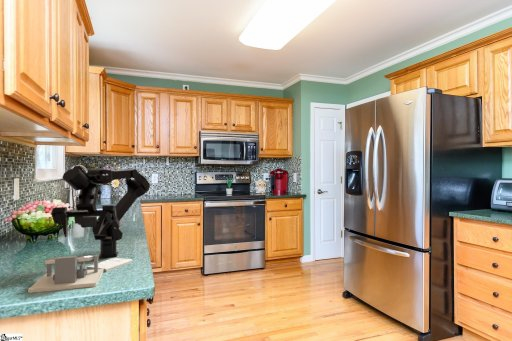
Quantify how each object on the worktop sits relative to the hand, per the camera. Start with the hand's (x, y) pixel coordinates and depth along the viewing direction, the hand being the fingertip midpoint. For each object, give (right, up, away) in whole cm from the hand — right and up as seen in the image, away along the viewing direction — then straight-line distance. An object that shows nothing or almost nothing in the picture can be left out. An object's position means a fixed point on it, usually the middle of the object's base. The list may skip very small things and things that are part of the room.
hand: (81, 235), depth 100 cm
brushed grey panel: (0, -6, -4) cm, 8 cm away
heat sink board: (+1, -12, -8) cm, 14 cm away
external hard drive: (+6, -13, +8) cm, 16 cm away
